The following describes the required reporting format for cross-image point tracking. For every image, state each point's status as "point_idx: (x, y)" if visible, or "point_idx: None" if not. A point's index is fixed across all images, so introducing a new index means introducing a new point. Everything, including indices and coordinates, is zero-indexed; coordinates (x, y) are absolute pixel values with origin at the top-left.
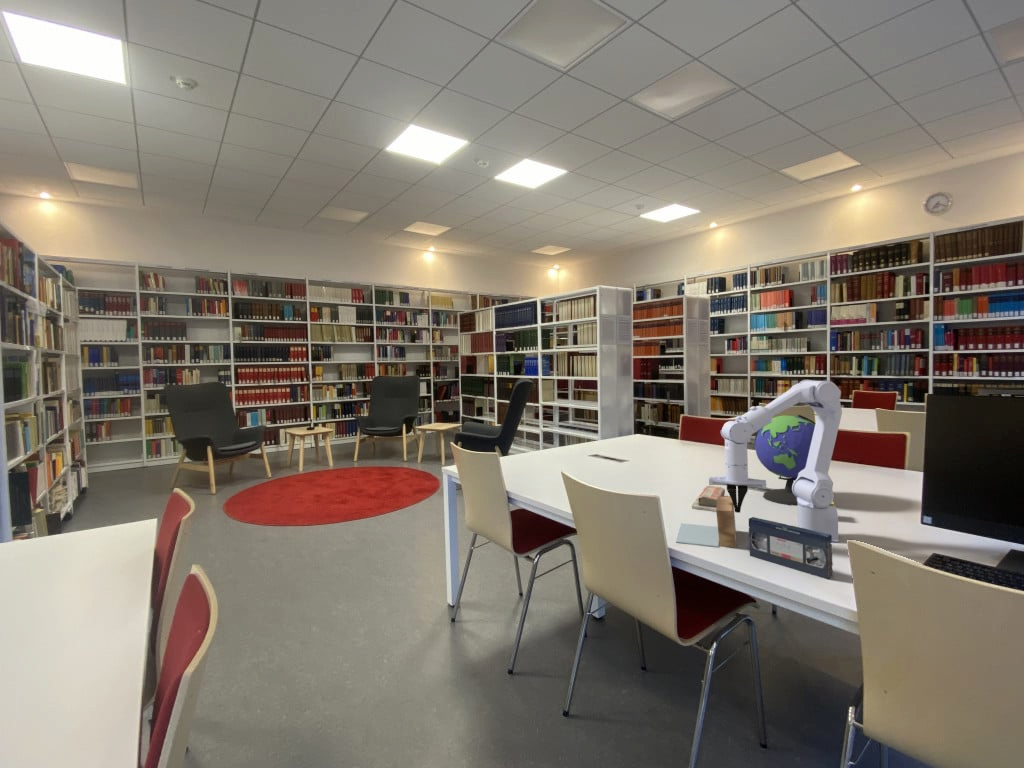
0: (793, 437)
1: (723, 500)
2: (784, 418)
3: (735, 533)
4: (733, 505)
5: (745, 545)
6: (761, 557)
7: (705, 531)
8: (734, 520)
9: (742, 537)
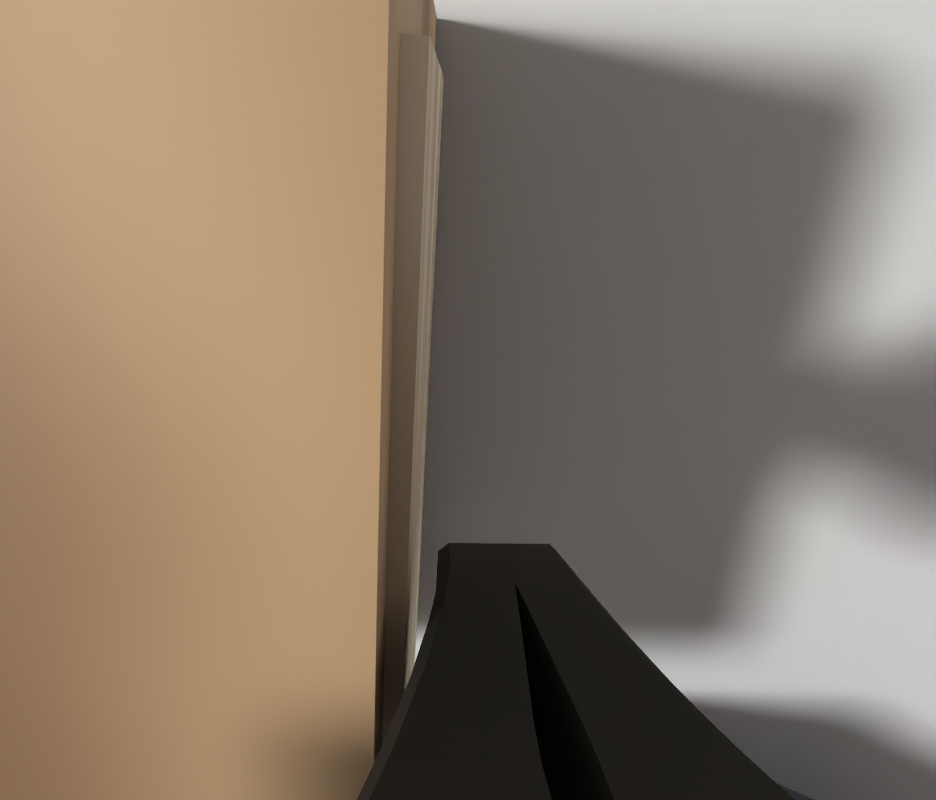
0: None
1: (60, 474)
2: None
3: (416, 611)
4: (425, 219)
5: (510, 533)
6: None
7: None
8: (415, 571)
9: (508, 297)
